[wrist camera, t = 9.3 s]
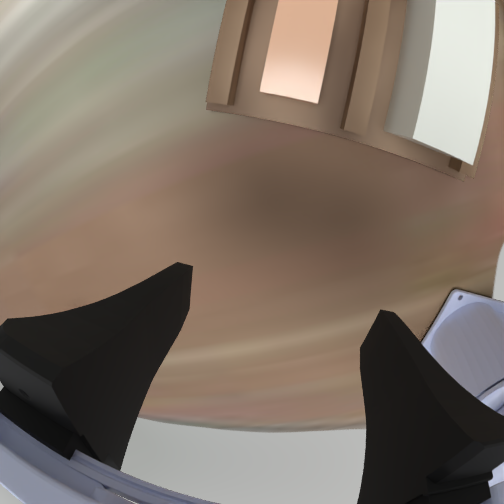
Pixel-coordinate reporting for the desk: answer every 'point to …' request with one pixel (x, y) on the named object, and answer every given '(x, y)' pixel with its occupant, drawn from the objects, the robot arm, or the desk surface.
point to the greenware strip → (444, 75)
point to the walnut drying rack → (330, 77)
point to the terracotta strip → (299, 49)
